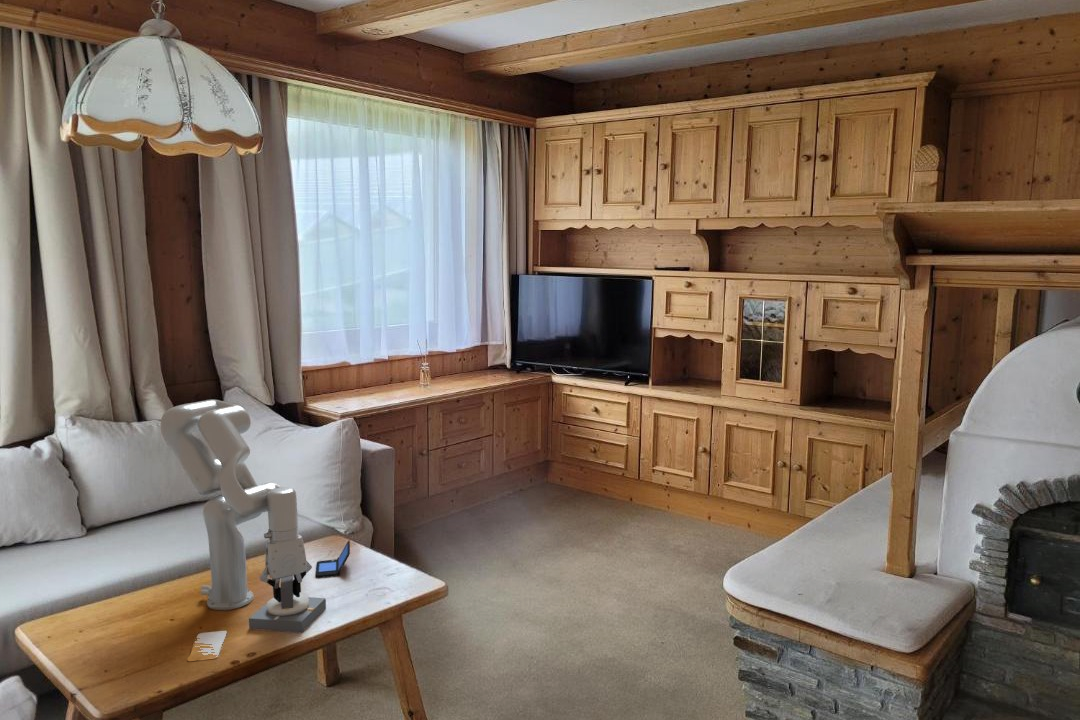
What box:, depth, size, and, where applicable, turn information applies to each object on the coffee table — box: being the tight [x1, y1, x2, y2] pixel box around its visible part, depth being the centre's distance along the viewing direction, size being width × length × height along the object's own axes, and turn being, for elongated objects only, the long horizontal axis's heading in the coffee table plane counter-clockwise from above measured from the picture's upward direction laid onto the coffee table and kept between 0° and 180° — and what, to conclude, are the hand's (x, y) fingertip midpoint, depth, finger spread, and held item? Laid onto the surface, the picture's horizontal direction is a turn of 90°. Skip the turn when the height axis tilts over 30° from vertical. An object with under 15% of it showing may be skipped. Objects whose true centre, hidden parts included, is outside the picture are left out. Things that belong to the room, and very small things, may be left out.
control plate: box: [248, 596, 327, 633], centre depth 221 cm, size 15×15×3 cm
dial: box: [266, 575, 309, 616], centre depth 220 cm, size 11×11×8 cm
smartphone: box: [194, 630, 228, 658], centre depth 206 cm, size 7×1×15 cm
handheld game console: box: [315, 540, 351, 579], centre depth 256 cm, size 12×11×7 cm
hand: (287, 597), depth 220 cm, fingers closed on dial, 4 cm apart
